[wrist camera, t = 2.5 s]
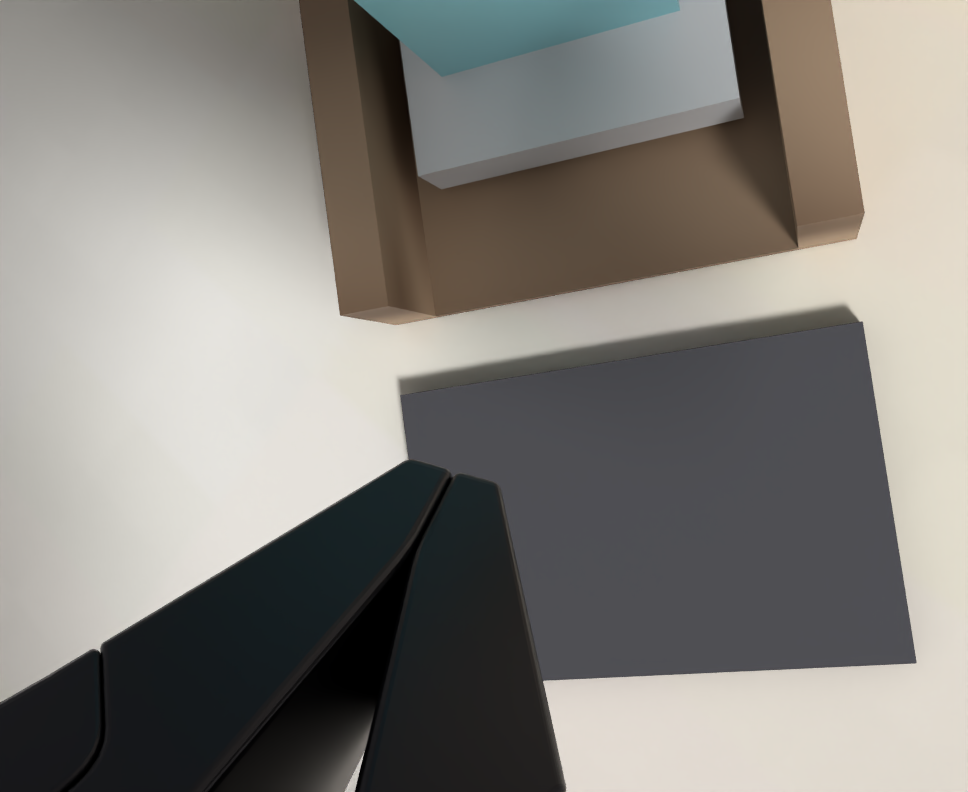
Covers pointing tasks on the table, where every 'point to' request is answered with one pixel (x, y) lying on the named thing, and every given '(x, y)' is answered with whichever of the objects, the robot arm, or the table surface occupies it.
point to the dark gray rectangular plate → (690, 506)
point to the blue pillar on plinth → (555, 78)
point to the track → (578, 178)
